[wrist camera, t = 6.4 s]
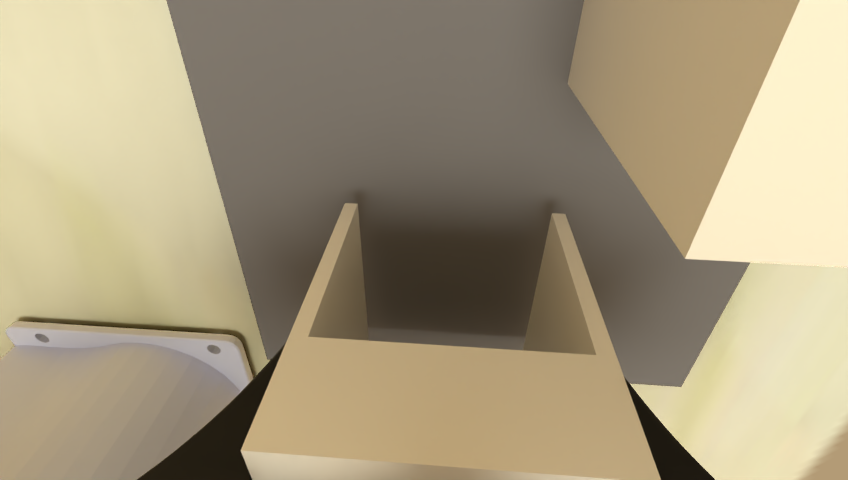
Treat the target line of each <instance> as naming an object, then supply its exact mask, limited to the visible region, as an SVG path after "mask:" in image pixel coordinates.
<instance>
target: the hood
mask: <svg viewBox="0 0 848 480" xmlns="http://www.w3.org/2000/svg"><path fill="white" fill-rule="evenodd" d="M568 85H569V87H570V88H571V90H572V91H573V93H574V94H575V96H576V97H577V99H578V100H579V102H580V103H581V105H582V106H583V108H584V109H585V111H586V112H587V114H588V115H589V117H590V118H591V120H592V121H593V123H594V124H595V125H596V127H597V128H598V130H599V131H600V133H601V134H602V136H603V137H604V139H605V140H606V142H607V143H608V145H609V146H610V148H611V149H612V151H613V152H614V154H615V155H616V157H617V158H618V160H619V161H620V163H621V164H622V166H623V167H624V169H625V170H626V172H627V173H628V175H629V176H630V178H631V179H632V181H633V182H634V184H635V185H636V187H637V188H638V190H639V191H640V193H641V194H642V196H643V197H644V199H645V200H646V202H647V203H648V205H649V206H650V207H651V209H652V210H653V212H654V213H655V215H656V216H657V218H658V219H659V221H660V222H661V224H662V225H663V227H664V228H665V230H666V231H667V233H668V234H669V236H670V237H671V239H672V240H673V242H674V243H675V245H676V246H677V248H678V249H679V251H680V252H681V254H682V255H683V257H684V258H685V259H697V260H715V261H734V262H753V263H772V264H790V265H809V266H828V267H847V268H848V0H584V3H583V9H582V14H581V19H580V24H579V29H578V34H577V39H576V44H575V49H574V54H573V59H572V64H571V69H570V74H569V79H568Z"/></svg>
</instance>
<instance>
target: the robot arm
mask: <svg viewBox="0 0 848 480" xmlns="http://www.w3.org/2000/svg"><path fill="white" fill-rule="evenodd" d="M6 334H7V336H8V337H9V339H10V340H11V341H12V343H13V344H14V345H15V346H14V347H13V348H12V349H11V350H10V351H8V352H7V353H6V354H5V355H4V356H3V357H2V358H1V359H0V480H252V478H251V475H250V473H249V470H248V468H247V465H246V463H245V460H244V458H243V455H242V453H241V448H242V446H243V444H244V441H245V439H246V437H247V434H248V432H249V429H250V427H251V425H252V422H253V420H254V418H255V415H256V413H257V410H258V408H259V406H260V403H261V401H262V399H263V396H264V394H265V391H266V389H267V387H268V384H269V382H270V380H271V377H272V375H273V372H274V370H275V368H276V365H277V363H278V361H279V358H280V356H281V354H282V351H283V349H284V346H285V344H286V343H285V344H284V345H283V346H282V348H281V349H280V350H279V351H278V352H277V353H276V355H275V356H274V357H273V358H272V359H271V360H270V361H269V363H268V364H267V365H266V366H265V367H264V368H263V369H262V370H261V371H260V372H259V374H258V375H257V376H256V377H255V378H254V379H253V375H252V372H251V369H250V366H249V363H248V360H247V357H246V354H245V350H244V347H243V344H242V343H241V341H240V340H239V339H238V338H237V337H235V336H233V335H227V334H211V333H196V332H180V331H165V330H149V329H134V328H118V327H102V326H87V325H71V324H56V323H40V322H25V321H16V322H14V323H12V324H11V325H10V326H9V327H8V328H6ZM624 378H625V377H624ZM625 381H626V384H627V387H628V389H629V392H630V395H631V398H632V401H633V403H634V406H635V409H636V412H637V414H638V417H639V420H640V423H641V426H642V428H643V431H644V434H645V437H646V439H647V442H648V445H649V448H650V451H651V453H652V456H653V459H654V462H655V464H656V467H657V470H658V473H659V476H660V478H661V480H715V479H714V478H713V477H712V476H711V475H710V474H709V473H708V472H707V471H706V470H705V469H704V468H703V467H702V466H701V465H700V464H699V463H698V462H697V461H696V460H695V459H694V458H693V457H692V456H691V455H690V454H689V453H688V452H687V451H686V450H685V449H684V447H683V446H682V445H681V444H680V443H679V442H678V441H677V440H676V439H675V438H674V437H673V435H672V434H671V433H670V432H669V431H668V430H667V429H666V428H665V426H664V425H663V424H662V423H661V422H660V421H659V419H658V418H657V417H656V416H655V415H654V414H653V412H652V411H651V410H650V409H649V408H648V406H647V405H646V404H645V403H644V401H643V400H642V399H641V398H640V396H639V395H638V394H637V393H636V391H635V390H634V389H633V387H632V386H631V385H630V384H629V382H628V381H627V380H626V378H625Z"/></svg>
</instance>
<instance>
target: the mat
mask: <svg viewBox="0 0 848 480" xmlns="http://www.w3.org/2000/svg"><path fill="white" fill-rule="evenodd" d="M583 3H584V0H167V4H168V7H169V11H170V14H171V18H172V21H173V25H174V29H175V32H176V36H177V39H178V43H179V46H180V50H181V54H182V57H183V61H184V64H185V68H186V71H187V75H188V78H189V82H190V86H191V89H192V93H193V96H194V100H195V103H196V107H197V110H198V114H199V118H200V121H201V125H202V128H203V132H204V135H205V139H206V142H207V146H208V150H209V153H210V157H211V160H212V164H213V167H214V171H215V174H216V178H217V182H218V185H219V189H220V192H221V196H222V199H223V203H224V207H225V210H226V214H227V217H228V221H229V224H230V228H231V231H232V235H233V239H234V242H235V246H236V249H237V253H238V256H239V260H240V263H241V267H242V271H243V274H244V278H245V281H246V285H247V288H248V292H249V295H250V299H251V303H252V306H253V310H254V313H255V317H256V320H257V324H258V328H259V331H260V335H261V338H262V342H263V345H264V349H265V352H266V356H267V359H272V358H273V357H274V356H275V355H276V353H277V352H278V351H279V350H280V349H281V348H282V346H283V345H284V344H285V343H286V342H287V339H288V337H289V335H290V332H291V330H292V327H293V325H294V323H295V320H296V318H297V316H298V313H299V311H300V308H301V306H302V304H303V301H304V299H305V297H306V294H307V292H308V289H309V287H310V285H311V282H312V280H313V278H314V275H315V273H316V271H317V268H318V266H319V263H320V261H321V259H322V256H323V254H324V252H325V249H326V247H327V244H328V242H329V240H330V237H331V235H332V233H333V230H334V228H335V225H336V223H337V221H338V218H339V216H340V214H341V211H342V209H343V206H344V204H345V203H355V204H358V213H359V225H360V238H361V250H362V263H363V275H364V287H365V300H366V312H367V325H368V337H369V341H382V342H398V343H414V344H430V345H445V346H461V347H477V348H492V349H508V350H523V347H524V342H525V338H526V333H527V328H528V323H529V319H530V314H531V309H532V305H533V300H534V295H535V290H536V286H537V281H538V276H539V272H540V267H541V262H542V258H543V253H544V248H545V243H546V239H547V234H548V229H549V225H550V220H551V215H552V213H558V214H566V217H567V220H568V223H569V226H570V228H571V231H572V234H573V237H574V239H575V242H576V245H577V248H578V251H579V253H580V256H581V259H582V262H583V264H584V267H585V270H586V273H587V276H588V278H589V281H590V284H591V287H592V289H593V292H594V295H595V298H596V301H597V303H598V306H599V309H600V312H601V314H602V317H603V320H604V323H605V326H606V328H607V331H608V334H609V337H610V339H611V342H612V345H613V348H614V351H615V353H616V356H617V359H618V362H619V364H620V367H621V370H622V373H623V376H624V377H625V378H626V380H627V381H628V382H629V383H631V384H646V385H661V386H676V387H681V386H682V384H683V383H684V381H685V379H686V377H687V375H688V374H689V372H690V370H691V368H692V366H693V365H694V363H695V361H696V359H697V357H698V356H699V354H700V352H701V350H702V348H703V347H704V345H705V343H706V341H707V339H708V338H709V336H710V334H711V332H712V330H713V329H714V327H715V325H716V323H717V321H718V320H719V318H720V316H721V314H722V312H723V311H724V309H725V307H726V305H727V303H728V301H729V300H730V298H731V296H732V294H733V292H734V291H735V289H736V287H737V285H738V283H739V282H740V280H741V278H742V276H743V274H744V273H745V271H746V269H747V267H748V265H749V264H750V262H734V261H715V260H697V259H685V258H684V257H683V255H682V254H681V252H680V251H679V249H678V248H677V246H676V245H675V243H674V242H673V240H672V239H671V237H670V236H669V234H668V233H667V231H666V230H665V228H664V227H663V225H662V224H661V222H660V221H659V219H658V218H657V216H656V215H655V213H654V212H653V210H652V209H651V207H650V206H649V205H648V203H647V202H646V200H645V199H644V197H643V196H642V194H641V193H640V191H639V190H638V188H637V187H636V185H635V184H634V182H633V181H632V179H631V178H630V176H629V175H628V173H627V172H626V170H625V169H624V167H623V166H622V164H621V163H620V161H619V160H618V158H617V157H616V155H615V154H614V152H613V151H612V149H611V148H610V146H609V145H608V143H607V142H606V140H605V139H604V137H603V136H602V134H601V133H600V131H599V130H598V128H597V127H596V125H595V124H594V123H593V121H592V120H591V118H590V117H589V115H588V114H587V112H586V111H585V109H584V108H583V106H582V105H581V103H580V102H579V100H578V99H577V97H576V96H575V94H574V93H573V91H572V90H571V88H570V87H569V85H568V79H569V74H570V69H571V64H572V59H573V54H574V49H575V44H576V39H577V34H578V29H579V24H580V19H581V14H582V9H583Z"/></svg>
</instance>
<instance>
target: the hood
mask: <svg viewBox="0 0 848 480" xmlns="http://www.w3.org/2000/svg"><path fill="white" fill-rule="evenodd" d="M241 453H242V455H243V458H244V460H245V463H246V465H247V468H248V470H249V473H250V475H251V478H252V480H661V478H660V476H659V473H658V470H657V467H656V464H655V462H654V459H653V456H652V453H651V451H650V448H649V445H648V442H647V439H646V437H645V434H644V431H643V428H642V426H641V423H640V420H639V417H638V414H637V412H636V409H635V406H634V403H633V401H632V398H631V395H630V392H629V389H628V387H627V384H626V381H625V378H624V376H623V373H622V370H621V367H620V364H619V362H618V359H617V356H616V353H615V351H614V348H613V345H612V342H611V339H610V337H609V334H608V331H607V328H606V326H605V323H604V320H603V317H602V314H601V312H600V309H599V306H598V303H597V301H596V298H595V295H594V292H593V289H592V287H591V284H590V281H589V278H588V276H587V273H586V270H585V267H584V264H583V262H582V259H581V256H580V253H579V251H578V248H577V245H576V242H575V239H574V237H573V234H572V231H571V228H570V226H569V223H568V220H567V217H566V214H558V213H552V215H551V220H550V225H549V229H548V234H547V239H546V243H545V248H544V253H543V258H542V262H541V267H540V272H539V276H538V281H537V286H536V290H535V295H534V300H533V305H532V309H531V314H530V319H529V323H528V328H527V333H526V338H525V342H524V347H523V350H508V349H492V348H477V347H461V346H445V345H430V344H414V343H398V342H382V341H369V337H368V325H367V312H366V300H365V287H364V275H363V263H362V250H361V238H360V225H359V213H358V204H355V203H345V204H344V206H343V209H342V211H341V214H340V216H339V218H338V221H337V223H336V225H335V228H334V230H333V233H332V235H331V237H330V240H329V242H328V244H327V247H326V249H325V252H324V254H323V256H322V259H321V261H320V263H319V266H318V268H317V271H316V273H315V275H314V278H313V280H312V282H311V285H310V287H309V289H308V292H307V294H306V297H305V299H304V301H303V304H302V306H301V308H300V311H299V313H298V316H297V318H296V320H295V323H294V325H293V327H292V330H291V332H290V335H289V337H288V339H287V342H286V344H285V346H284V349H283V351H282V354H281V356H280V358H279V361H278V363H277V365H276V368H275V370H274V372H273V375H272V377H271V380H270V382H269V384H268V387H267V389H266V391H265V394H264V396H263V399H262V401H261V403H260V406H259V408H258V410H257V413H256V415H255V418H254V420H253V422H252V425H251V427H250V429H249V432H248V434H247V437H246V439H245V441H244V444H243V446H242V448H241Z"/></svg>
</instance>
